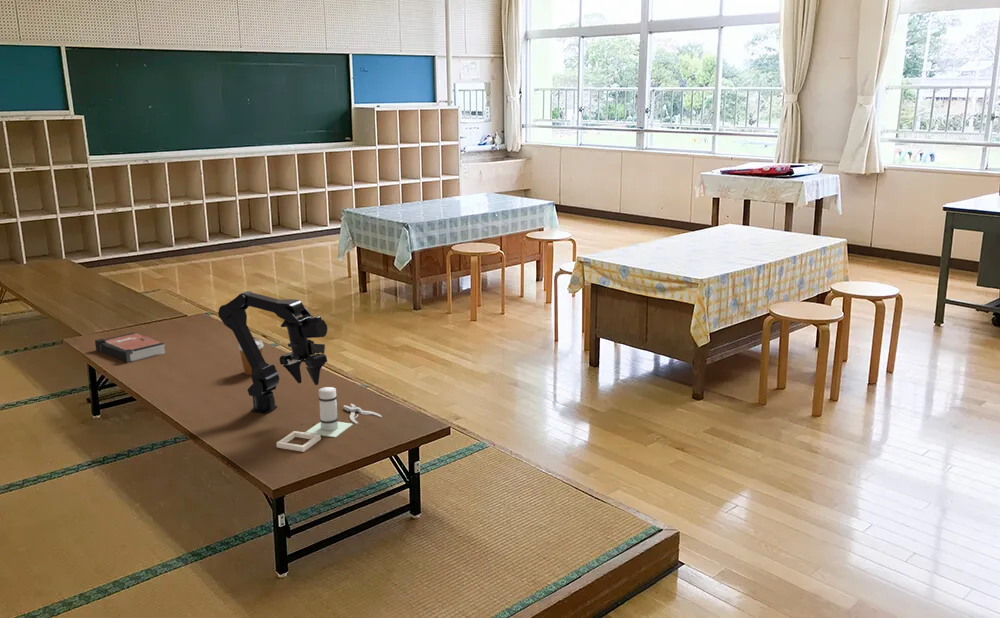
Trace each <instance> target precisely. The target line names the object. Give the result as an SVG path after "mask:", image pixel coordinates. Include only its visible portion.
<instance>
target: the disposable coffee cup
mask: <svg viewBox="0 0 1000 618" xmlns="http://www.w3.org/2000/svg"><path fill="white" fill-rule="evenodd" d="M254 340H255V342H256V344H257V346H258V348H259V350H260V352H261V354H262V355H263V351H264V350H263V349H264V343H263V341H262V340H261V339H254ZM237 348H238V351H239V353H240V357H241V362H242V367H243V371H244V374H245V375H248V376H251V372H252V369H251V366H250V364H249V362H248V360H247V358H246V356H245V354H244V352H243V350H242V348H241V346H240V344H239V343H238V347H237Z"/></svg>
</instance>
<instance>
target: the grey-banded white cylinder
mask: <svg viewBox="0 0 1000 618" xmlns="http://www.w3.org/2000/svg"><path fill="white" fill-rule="evenodd" d="M337 398H338V395H337V388H335V387H331V386H325V387H321V388H319V389H318V401H319V416H320V417H319V422H321V430H323V431H333V430H336V429H337V428H338V422H339V421H338V420H339V417H338V404H337Z"/></svg>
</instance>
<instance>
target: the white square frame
mask: <svg viewBox="0 0 1000 618" xmlns="http://www.w3.org/2000/svg"><path fill="white" fill-rule="evenodd" d="M305 432H306V431H305ZM305 432H303V431H297V430H293V431H292V432H290V433H288V435H286V436H284V437H283V438H282V439H280V440H278V441H276V448H280V449H285V450H291V451H297V452H303V453H304V452H306V451H307V450H308V449H310V448H311V447H312V446H314V445H315V444H317V443H318V442H320V441H321V439H322V437H321V435H317V434H311V433H305ZM294 438H301V439H307V440H308V441H307V442H305V443H304V444H303V445H302V444H297V443H296V444H295V443H290V441H292V440H293V439H294Z"/></svg>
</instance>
